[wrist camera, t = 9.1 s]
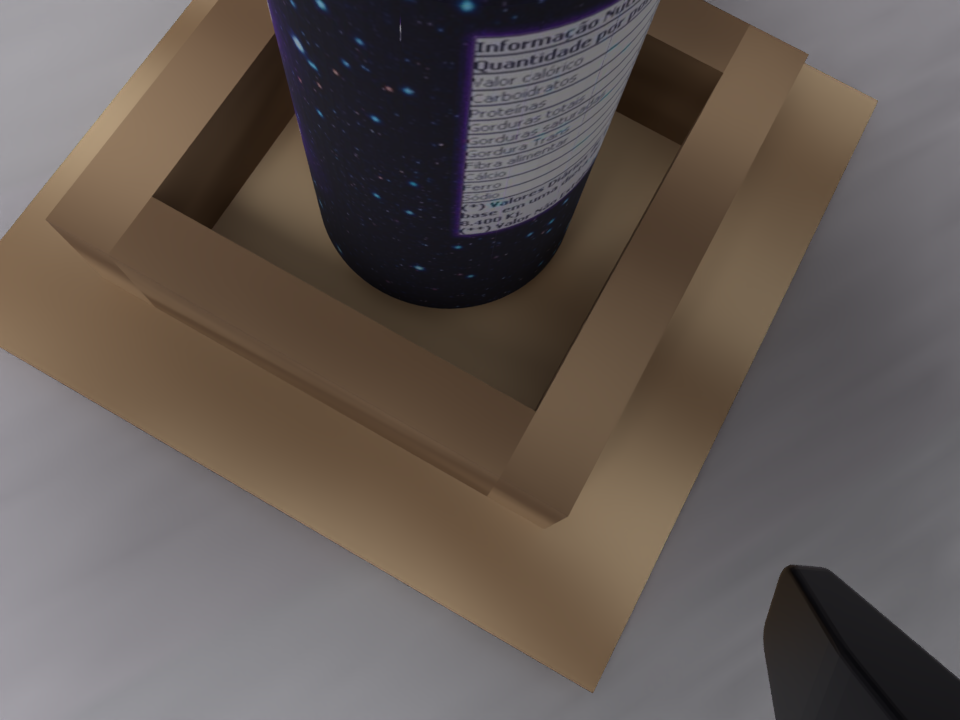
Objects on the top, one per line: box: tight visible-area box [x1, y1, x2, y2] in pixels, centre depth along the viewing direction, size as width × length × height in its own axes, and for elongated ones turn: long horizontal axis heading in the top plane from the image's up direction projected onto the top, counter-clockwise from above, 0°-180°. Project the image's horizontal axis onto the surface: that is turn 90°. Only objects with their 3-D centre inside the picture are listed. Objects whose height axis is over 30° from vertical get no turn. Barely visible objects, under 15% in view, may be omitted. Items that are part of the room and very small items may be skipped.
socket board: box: [0, 0, 878, 693], centre depth 19 cm, size 16×16×4 cm
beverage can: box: [267, 0, 660, 309], centre depth 14 cm, size 6×6×12 cm
